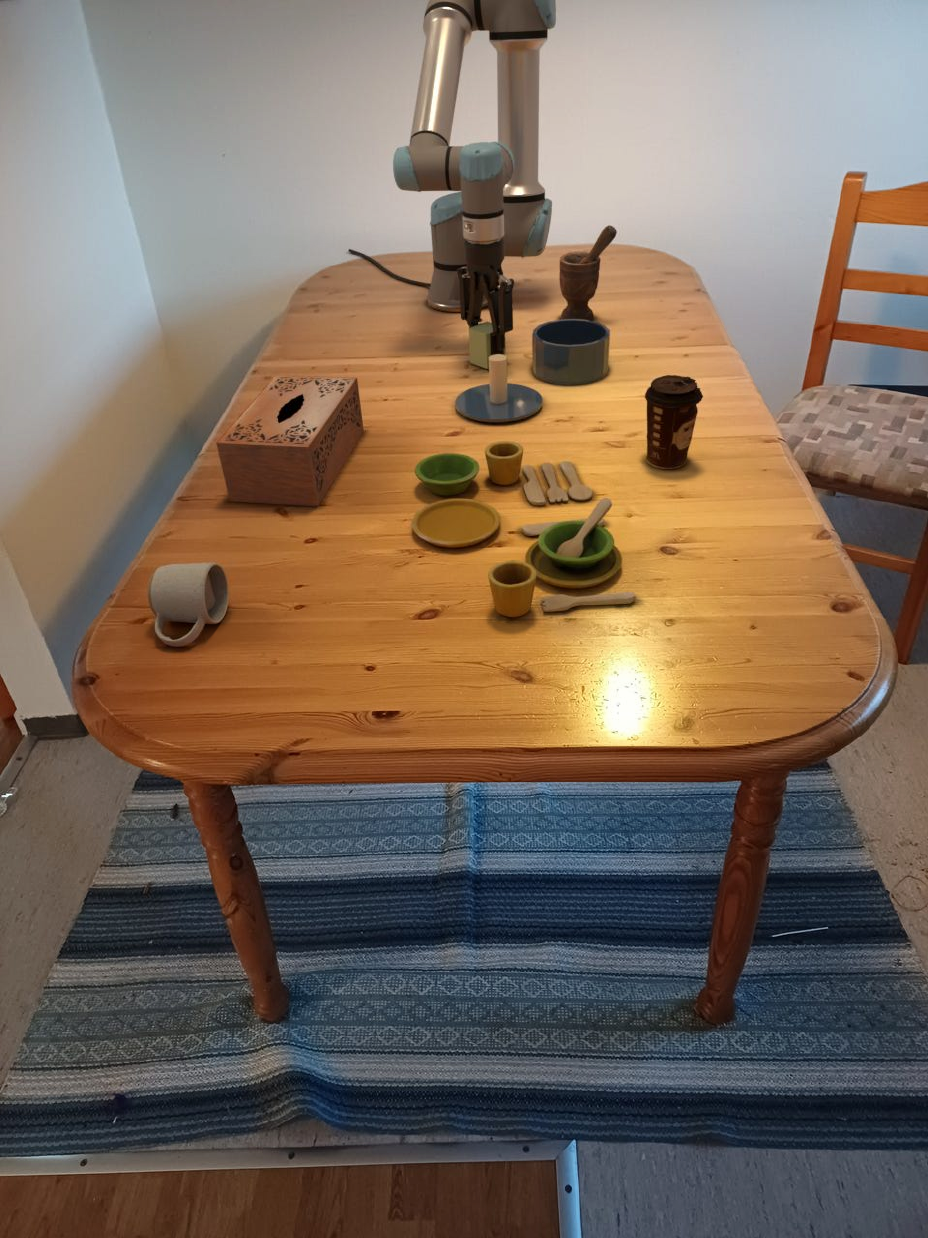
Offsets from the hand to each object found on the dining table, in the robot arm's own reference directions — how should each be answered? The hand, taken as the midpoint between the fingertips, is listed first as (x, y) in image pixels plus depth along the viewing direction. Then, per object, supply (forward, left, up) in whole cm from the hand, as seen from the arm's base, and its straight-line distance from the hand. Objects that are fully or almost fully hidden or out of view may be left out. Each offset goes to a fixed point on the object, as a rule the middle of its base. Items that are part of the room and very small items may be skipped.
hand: (487, 360), depth 179 cm
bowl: (+14, +9, -1) cm, 17 cm away
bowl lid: (+16, -12, 0) cm, 20 cm away
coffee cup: (+51, -8, -1) cm, 52 cm away
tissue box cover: (+9, -50, -1) cm, 51 cm away
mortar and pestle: (-3, +32, -1) cm, 32 cm away
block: (0, 0, 0) cm, 0 cm away
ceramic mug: (+35, -84, -1) cm, 91 cm away
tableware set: (+49, -41, -1) cm, 64 cm away
